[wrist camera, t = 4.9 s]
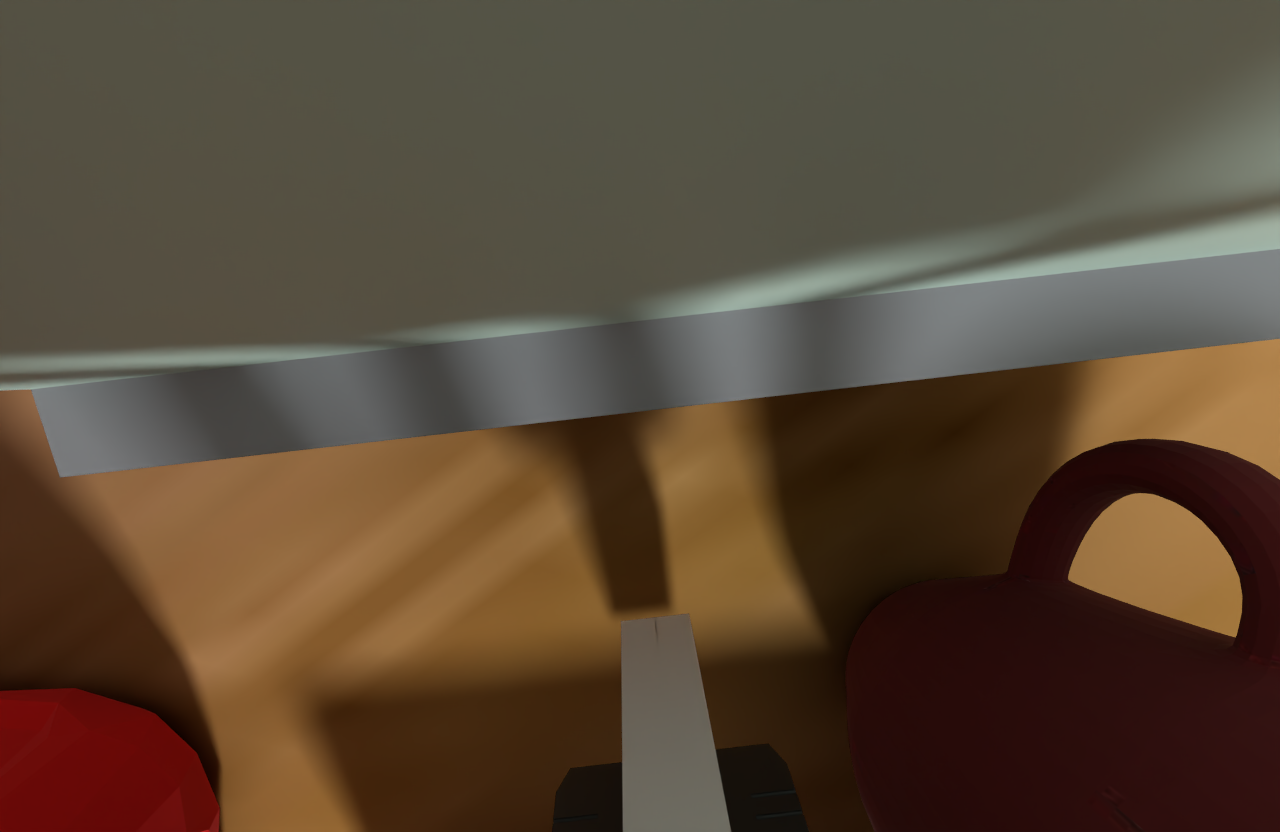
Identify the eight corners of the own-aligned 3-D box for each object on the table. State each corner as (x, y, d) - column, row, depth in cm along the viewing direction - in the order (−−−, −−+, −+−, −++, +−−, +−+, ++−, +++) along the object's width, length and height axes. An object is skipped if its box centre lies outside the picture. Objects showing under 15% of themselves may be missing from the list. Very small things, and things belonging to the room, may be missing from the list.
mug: (772, 398, 15) (1316, 648, 5) (1095, 383, 16) (1967, 549, 7) (757, 824, 17) (1112, 1561, 7) (1042, 773, 18) (1638, 1317, 9)
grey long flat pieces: (407, 934, 19) (315, 1246, 13) (262, 331, 15) (31, 389, 9) (1064, 854, 19) (1266, 1126, 13) (1096, 238, 15) (1408, 234, 9)
